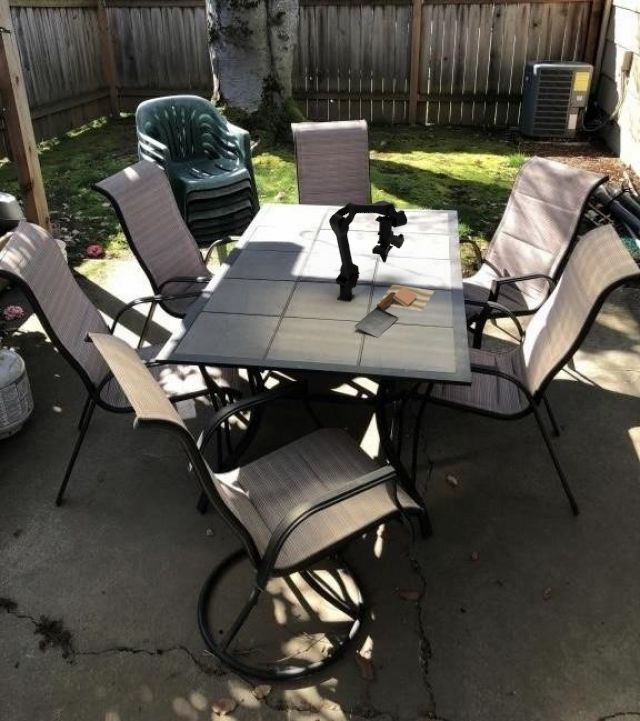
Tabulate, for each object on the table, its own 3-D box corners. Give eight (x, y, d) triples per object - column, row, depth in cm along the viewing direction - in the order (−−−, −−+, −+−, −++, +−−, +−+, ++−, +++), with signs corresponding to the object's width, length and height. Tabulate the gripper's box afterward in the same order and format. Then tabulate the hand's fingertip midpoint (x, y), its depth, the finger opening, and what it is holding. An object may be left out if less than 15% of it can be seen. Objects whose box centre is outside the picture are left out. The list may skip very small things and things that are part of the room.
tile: (415, 298, 293) (406, 307, 286) (402, 289, 294) (392, 297, 287) (417, 295, 292) (408, 304, 285) (403, 286, 293) (394, 294, 286)
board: (421, 313, 283) (421, 311, 282) (377, 306, 290) (377, 304, 289) (434, 292, 300) (434, 290, 299) (392, 286, 307) (392, 284, 306)
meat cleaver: (378, 337, 265) (378, 329, 263) (353, 330, 270) (353, 322, 268) (413, 303, 289) (413, 295, 287) (390, 298, 294) (390, 290, 292)
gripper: (396, 238, 283) (395, 272, 291) (408, 225, 298) (407, 257, 306) (372, 235, 287) (371, 268, 295) (385, 222, 302) (384, 254, 310)
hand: (384, 262), depth 301 cm, fingers closed
